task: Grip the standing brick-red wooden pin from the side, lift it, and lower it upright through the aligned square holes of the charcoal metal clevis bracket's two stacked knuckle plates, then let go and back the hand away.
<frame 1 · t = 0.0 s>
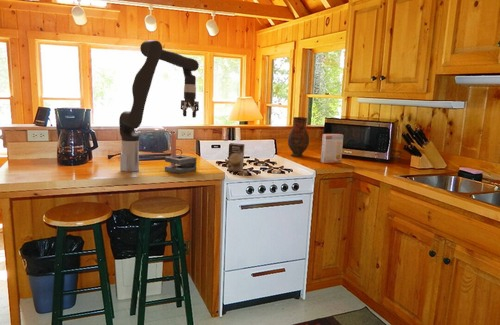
hand: (189, 116, 244), 29 cm above the worktop, tool pointing down, fingers open, 8 cm apart
clevis: (179, 171, 218), on the worktop
coffee box: (235, 170, 229), on the worktop
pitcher: (296, 155, 294), on the worktop
pin: (173, 166, 230), on the worktop
cracker box: (330, 163, 271), on the worktop
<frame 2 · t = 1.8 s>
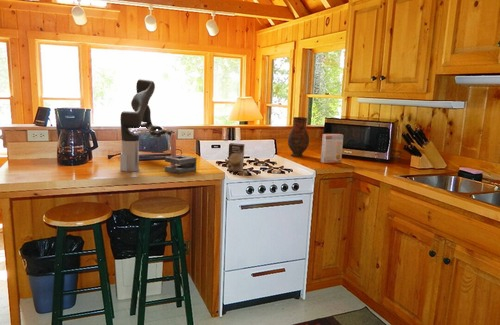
hand: (165, 134, 236), 18 cm above the worktop, tool horizontal, fingers open, 8 cm apart
nothing on the worktop moved.
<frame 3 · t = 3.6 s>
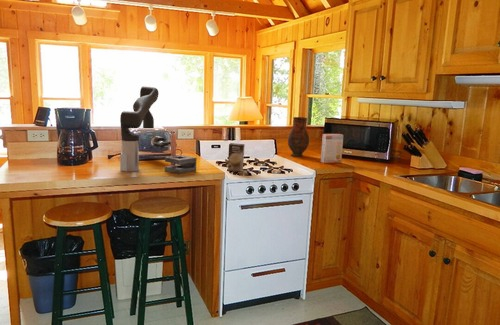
hand: (169, 145, 232), 12 cm above the worktop, tool horizontal, fingers open, 8 cm apart
nothing on the worktop moved.
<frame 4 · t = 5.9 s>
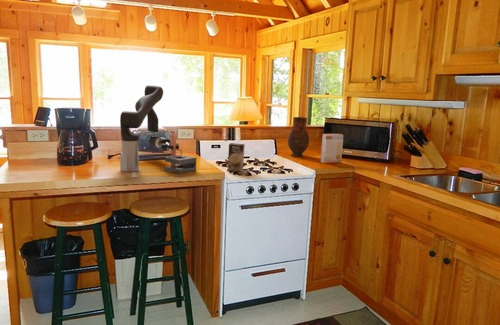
hand: (175, 147, 226), 12 cm above the worktop, tool horizontal, fingers closed on pin, 3 cm apart
pin: (173, 166, 230), on the worktop, touching gripper
everything else where it was.
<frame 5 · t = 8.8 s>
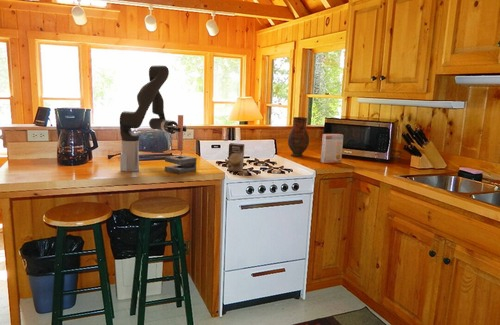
hand: (182, 129, 212), 24 cm above the worktop, tool horizontal, fingers closed on pin, 3 cm apart
pin: (180, 150, 216), point 12 cm above the worktop, touching gripper
everything else where it was.
when the fingers open (14 cm above the worktop, at t = 11.7 s): pin drops 2 cm, resting in clevis.
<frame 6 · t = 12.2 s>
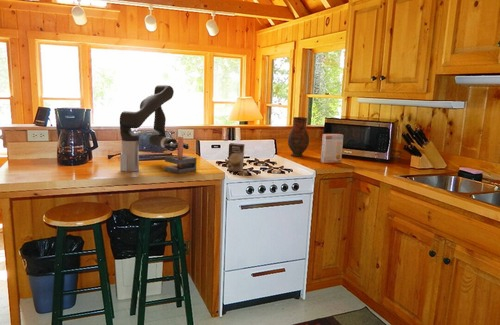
hand: (181, 147, 214), 14 cm above the worktop, tool horizontal, fingers open, 7 cm apart
pin: (179, 171, 218), resting in clevis
everything else where it was.
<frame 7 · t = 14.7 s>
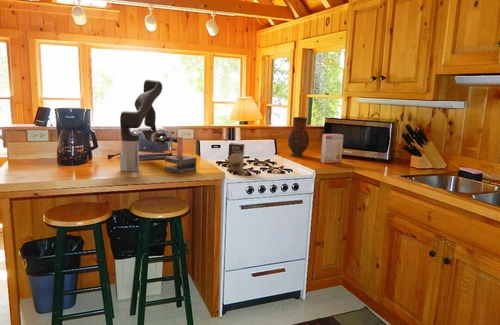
hand: (170, 141, 225), 16 cm above the worktop, tool horizontal, fingers open, 8 cm apart
nothing on the worktop moved.
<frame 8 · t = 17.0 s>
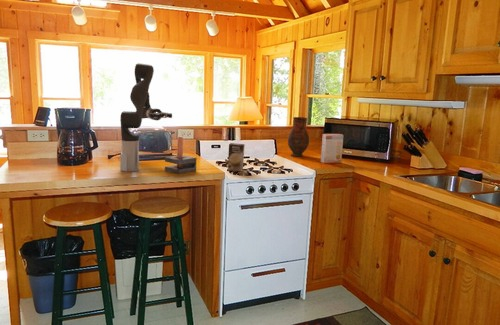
hand: (165, 116, 230), 30 cm above the worktop, tool horizontal, fingers open, 8 cm apart
nothing on the worktop moved.
at the end: pin 0.1 cm off-centre on the clevis, point 0.0 cm above the clevis's base; pin tilted 0°; the gripper is holding nothing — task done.
